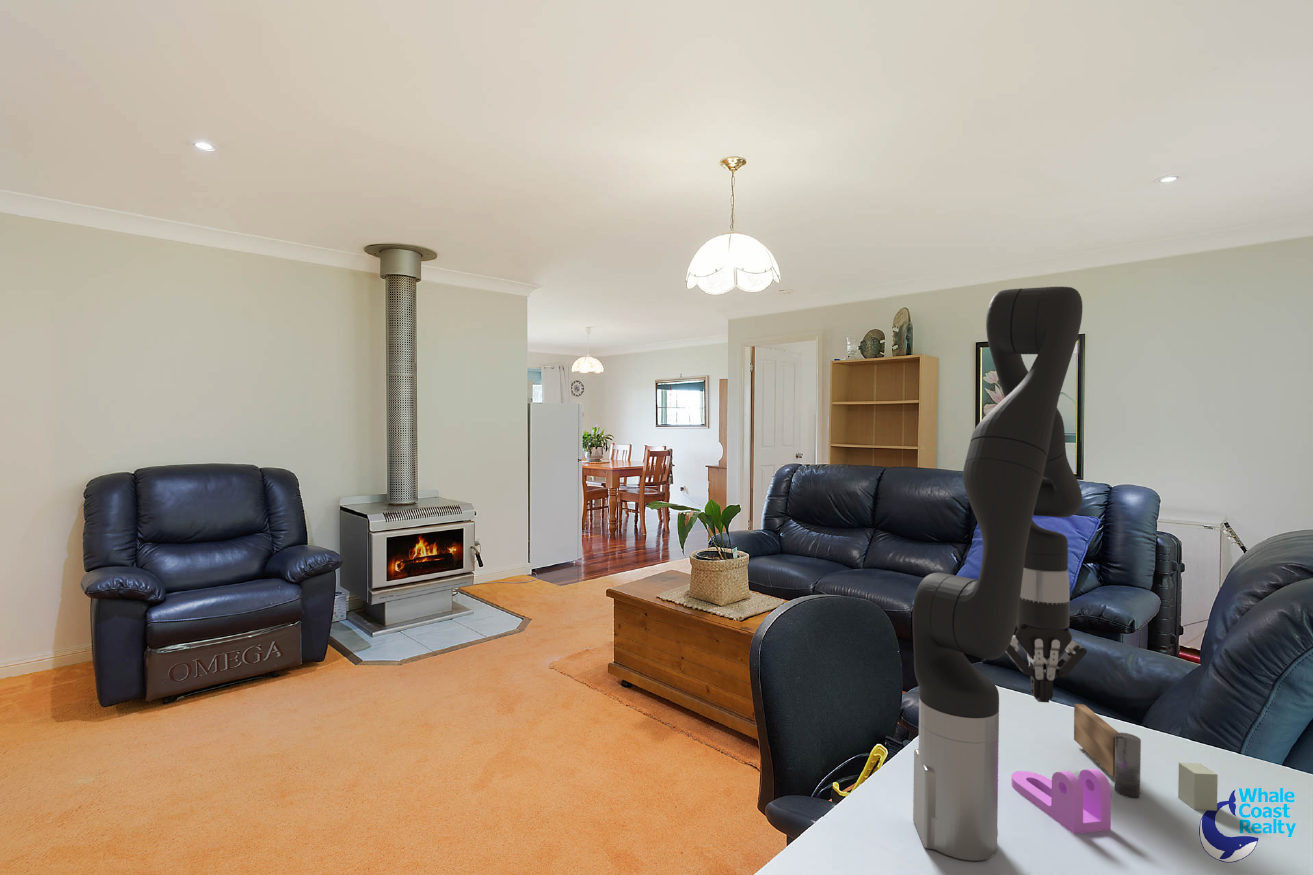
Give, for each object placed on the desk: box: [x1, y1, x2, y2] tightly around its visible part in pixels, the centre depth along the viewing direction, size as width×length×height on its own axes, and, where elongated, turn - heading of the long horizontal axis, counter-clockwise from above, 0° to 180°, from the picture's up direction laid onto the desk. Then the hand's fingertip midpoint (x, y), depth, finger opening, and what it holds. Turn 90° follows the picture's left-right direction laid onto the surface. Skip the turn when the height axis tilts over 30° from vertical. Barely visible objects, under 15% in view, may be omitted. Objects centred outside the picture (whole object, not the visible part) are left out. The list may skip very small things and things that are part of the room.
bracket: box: [1011, 768, 1112, 835], centre depth 90 cm, size 13×6×7 cm, turn 10°
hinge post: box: [1114, 732, 1142, 799], centre depth 93 cm, size 3×3×8 cm
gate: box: [1073, 703, 1120, 778], centre depth 102 cm, size 12×2×6 cm, turn 171°
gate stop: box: [1177, 762, 1219, 811], centre depth 91 cm, size 3×3×5 cm
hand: (1041, 700), depth 105 cm, fingers closed
